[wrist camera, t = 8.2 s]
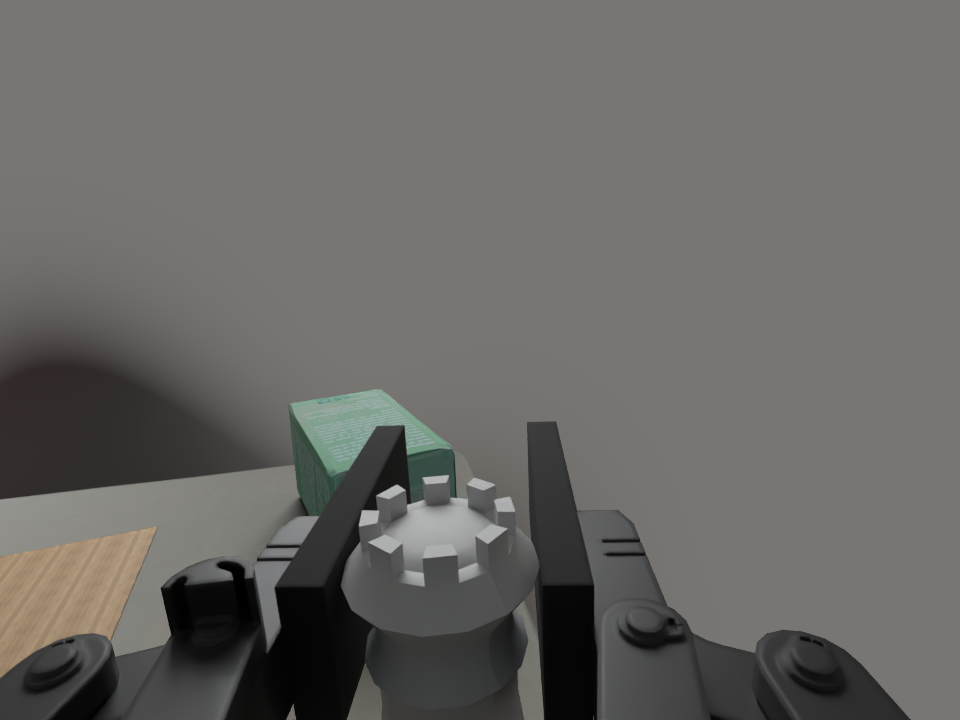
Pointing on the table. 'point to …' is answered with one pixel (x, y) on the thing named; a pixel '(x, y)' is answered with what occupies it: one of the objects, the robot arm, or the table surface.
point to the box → (358, 444)
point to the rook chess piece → (443, 601)
